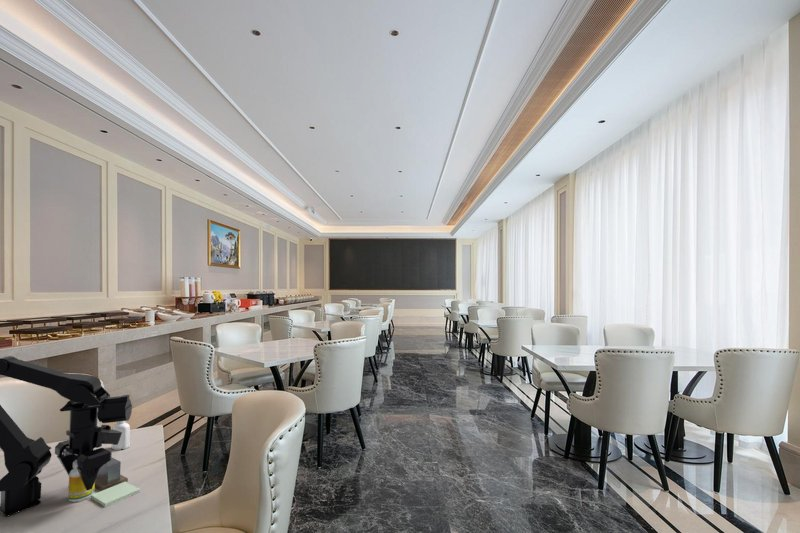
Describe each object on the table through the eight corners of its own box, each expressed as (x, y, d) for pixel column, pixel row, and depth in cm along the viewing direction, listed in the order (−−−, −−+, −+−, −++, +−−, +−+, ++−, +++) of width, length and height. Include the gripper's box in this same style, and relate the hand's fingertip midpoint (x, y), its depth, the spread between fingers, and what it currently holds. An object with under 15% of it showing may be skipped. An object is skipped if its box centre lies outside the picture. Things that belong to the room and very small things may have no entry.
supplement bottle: (68, 496, 101) (69, 459, 102) (94, 489, 105) (95, 453, 105) (67, 505, 97) (69, 466, 98) (94, 497, 100) (95, 460, 101)
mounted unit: (102, 491, 103) (103, 469, 104) (86, 482, 108) (87, 460, 109) (127, 481, 108) (128, 460, 109) (111, 473, 114) (111, 452, 114)
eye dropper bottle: (115, 452, 128) (116, 416, 128) (110, 447, 131) (111, 412, 132) (130, 448, 131) (131, 412, 132) (125, 443, 135) (126, 409, 135)
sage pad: (105, 507, 96) (105, 503, 96) (91, 498, 100) (91, 495, 100) (139, 492, 103) (139, 489, 103) (125, 484, 107) (125, 481, 107)
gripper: (134, 422, 104) (132, 480, 103) (103, 410, 113) (101, 464, 113) (84, 436, 94) (82, 500, 94) (55, 422, 104) (52, 481, 103)
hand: (81, 484), depth 101 cm, fingers open, 9 cm apart
